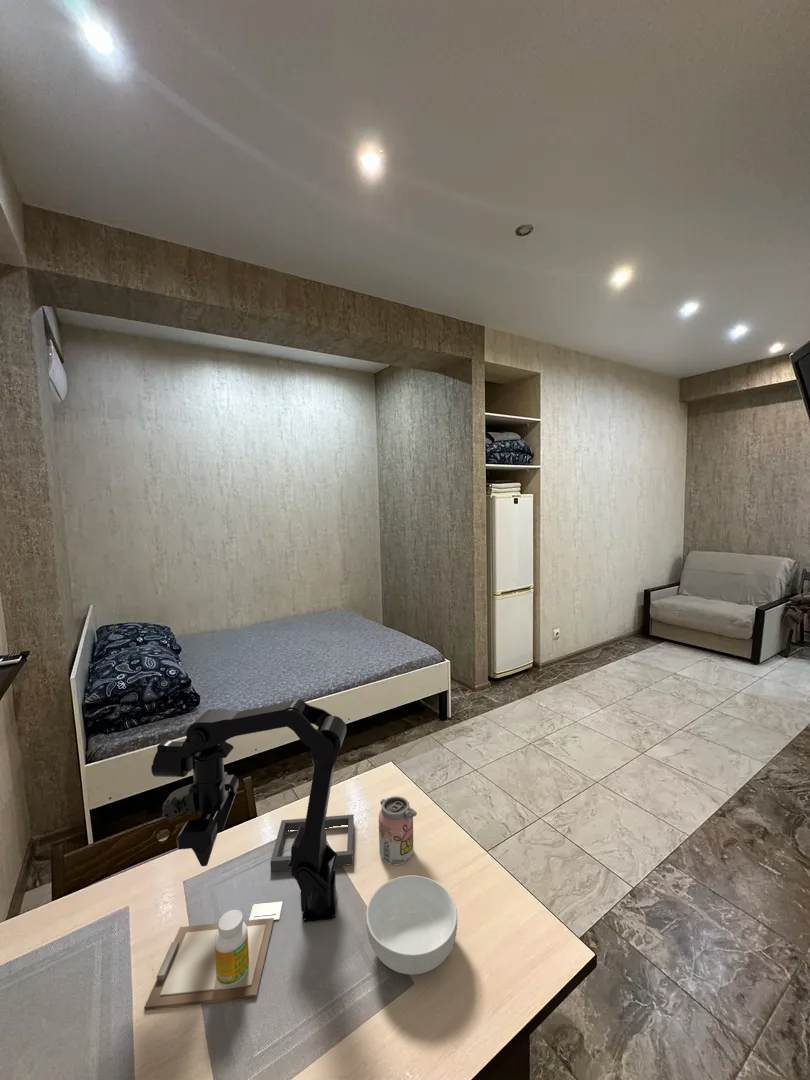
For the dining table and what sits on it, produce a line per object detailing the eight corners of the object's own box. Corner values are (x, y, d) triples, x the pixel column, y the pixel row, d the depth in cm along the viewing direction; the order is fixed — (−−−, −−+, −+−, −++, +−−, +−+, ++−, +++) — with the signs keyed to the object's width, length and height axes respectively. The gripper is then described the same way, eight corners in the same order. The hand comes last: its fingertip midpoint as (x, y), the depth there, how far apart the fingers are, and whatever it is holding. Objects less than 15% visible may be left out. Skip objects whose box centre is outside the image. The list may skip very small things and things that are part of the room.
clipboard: (273, 920, 87) (273, 913, 87) (256, 997, 73) (256, 988, 73) (180, 929, 86) (179, 922, 86) (144, 1010, 72) (143, 1001, 72)
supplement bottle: (238, 991, 74) (235, 937, 73) (209, 984, 75) (206, 931, 74) (255, 959, 79) (252, 908, 78) (228, 953, 80) (225, 903, 80)
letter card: (282, 902, 91) (282, 901, 91) (279, 920, 88) (278, 918, 87) (253, 905, 91) (253, 903, 91) (248, 923, 87) (248, 921, 87)
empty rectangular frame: (353, 823, 114) (353, 814, 114) (352, 864, 101) (351, 854, 101) (282, 829, 113) (281, 820, 113) (270, 871, 99) (270, 861, 99)
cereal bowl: (465, 919, 87) (465, 886, 86) (445, 1010, 71) (445, 969, 71) (386, 896, 92) (385, 864, 92) (351, 975, 77) (350, 937, 76)
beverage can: (395, 832, 111) (394, 787, 110) (423, 847, 106) (422, 799, 105) (371, 856, 103) (370, 807, 103) (400, 873, 98) (399, 822, 98)
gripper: (186, 752, 98) (190, 819, 99) (144, 808, 79) (149, 890, 80) (237, 749, 99) (240, 815, 100) (208, 804, 80) (212, 884, 81)
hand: (212, 847), depth 90 cm, fingers open, 9 cm apart
